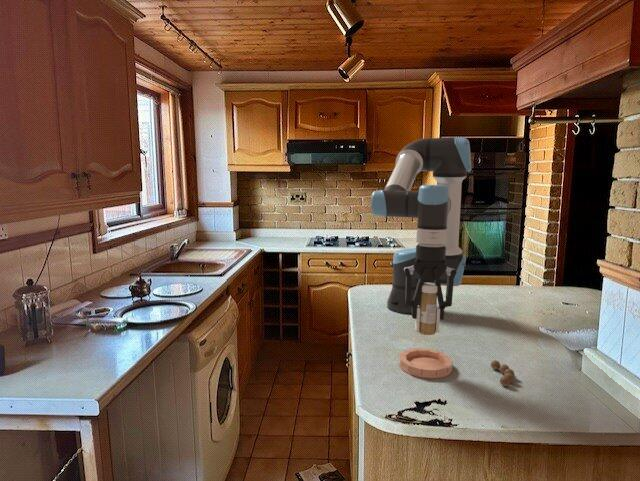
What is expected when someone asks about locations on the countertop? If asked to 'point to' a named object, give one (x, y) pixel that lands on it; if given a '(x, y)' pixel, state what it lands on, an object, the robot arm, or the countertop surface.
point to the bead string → (506, 371)
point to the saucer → (425, 363)
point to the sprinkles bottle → (428, 309)
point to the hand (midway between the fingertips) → (426, 330)
